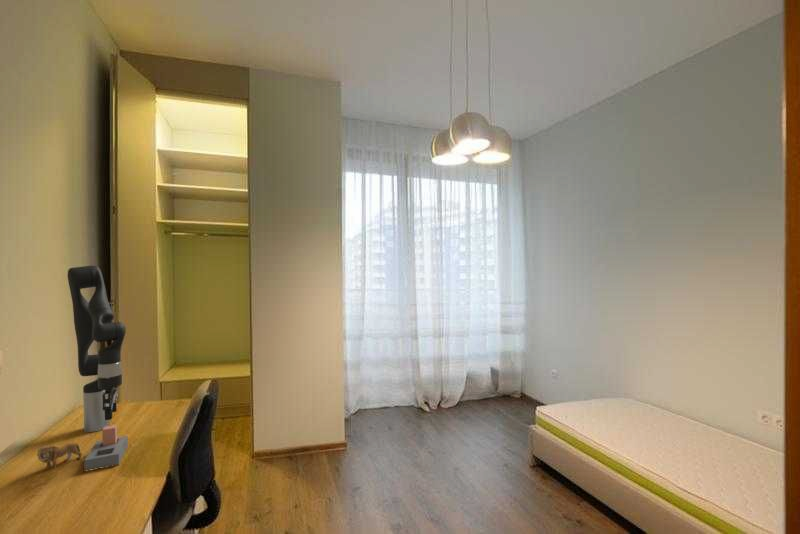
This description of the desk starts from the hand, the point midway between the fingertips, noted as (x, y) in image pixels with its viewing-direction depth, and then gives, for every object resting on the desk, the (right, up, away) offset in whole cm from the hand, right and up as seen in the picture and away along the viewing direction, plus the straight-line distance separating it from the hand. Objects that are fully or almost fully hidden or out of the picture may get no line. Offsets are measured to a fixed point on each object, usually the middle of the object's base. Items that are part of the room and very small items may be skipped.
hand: (110, 415), depth 154 cm
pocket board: (+2, -14, -5) cm, 15 cm away
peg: (0, -14, 0) cm, 14 cm away
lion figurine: (-12, -15, -10) cm, 21 cm away
